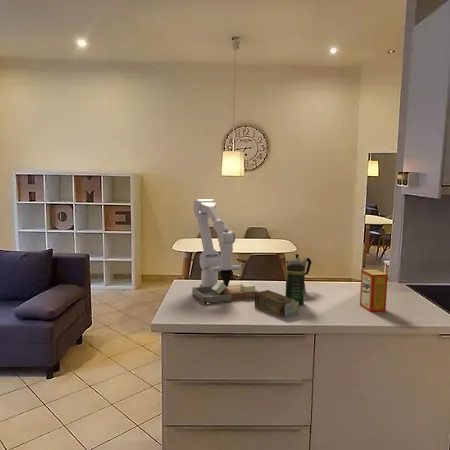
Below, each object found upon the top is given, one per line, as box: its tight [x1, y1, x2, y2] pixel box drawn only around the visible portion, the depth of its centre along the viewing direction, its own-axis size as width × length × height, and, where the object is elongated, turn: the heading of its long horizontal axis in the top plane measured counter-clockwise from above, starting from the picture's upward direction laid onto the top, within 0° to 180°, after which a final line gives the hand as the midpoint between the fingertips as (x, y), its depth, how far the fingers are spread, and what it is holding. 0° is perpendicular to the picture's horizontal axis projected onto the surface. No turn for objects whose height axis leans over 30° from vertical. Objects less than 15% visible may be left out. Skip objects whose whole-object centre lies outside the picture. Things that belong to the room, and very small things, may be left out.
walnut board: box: [221, 284, 260, 302], centre depth 195 cm, size 14×14×3 cm
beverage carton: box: [254, 289, 300, 319], centre depth 173 cm, size 8×19×7 cm, turn 35°
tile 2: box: [240, 283, 256, 292], centre depth 192 cm, size 5×5×2 cm
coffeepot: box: [285, 253, 312, 293], centre depth 204 cm, size 15×9×18 cm, turn 118°
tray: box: [191, 286, 232, 305], centre depth 190 cm, size 17×12×3 cm
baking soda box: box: [359, 269, 388, 313], centre depth 176 cm, size 10×6×16 cm
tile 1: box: [211, 280, 226, 294], centre depth 194 cm, size 5×5×2 cm
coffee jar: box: [284, 260, 306, 306], centre depth 182 cm, size 10×8×19 cm
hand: (226, 286), depth 196 cm, fingers closed
